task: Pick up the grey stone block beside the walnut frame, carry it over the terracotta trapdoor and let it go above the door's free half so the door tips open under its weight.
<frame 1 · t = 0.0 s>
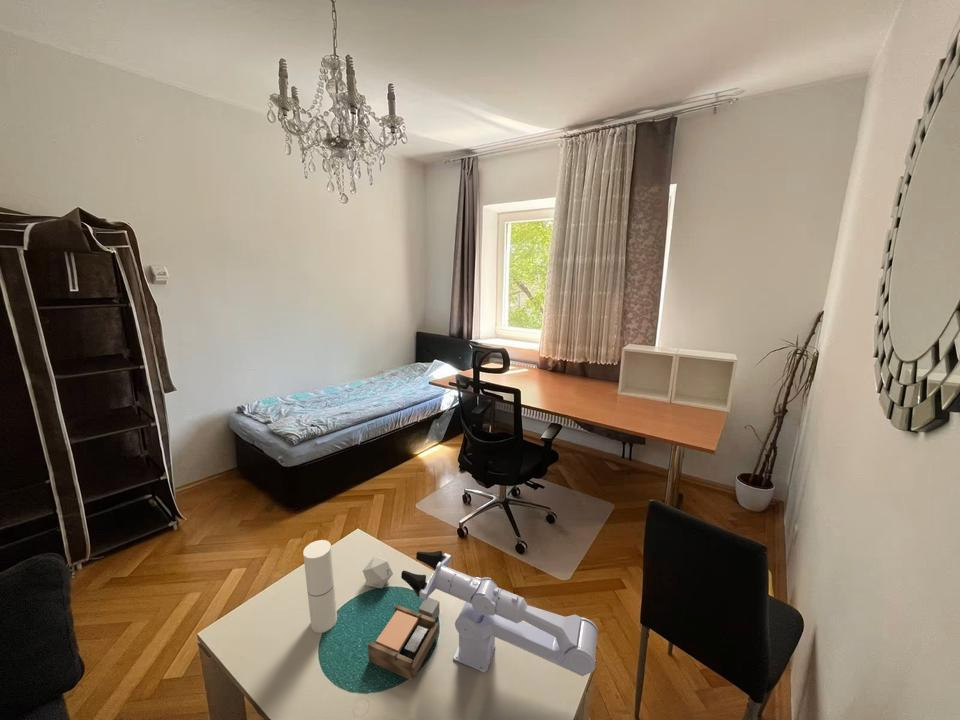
hand: (409, 564, 104), 22 cm above the table, tool horizontal, fingers open, 7 cm apart
die: (378, 582, 125), on the table
cylindrical container: (324, 622, 110), on the table
trapdoor: (403, 635, 102), point 4 cm above the table, hinge at 0.0°
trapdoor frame: (409, 650, 102), on the table
stone: (429, 617, 112), on the table
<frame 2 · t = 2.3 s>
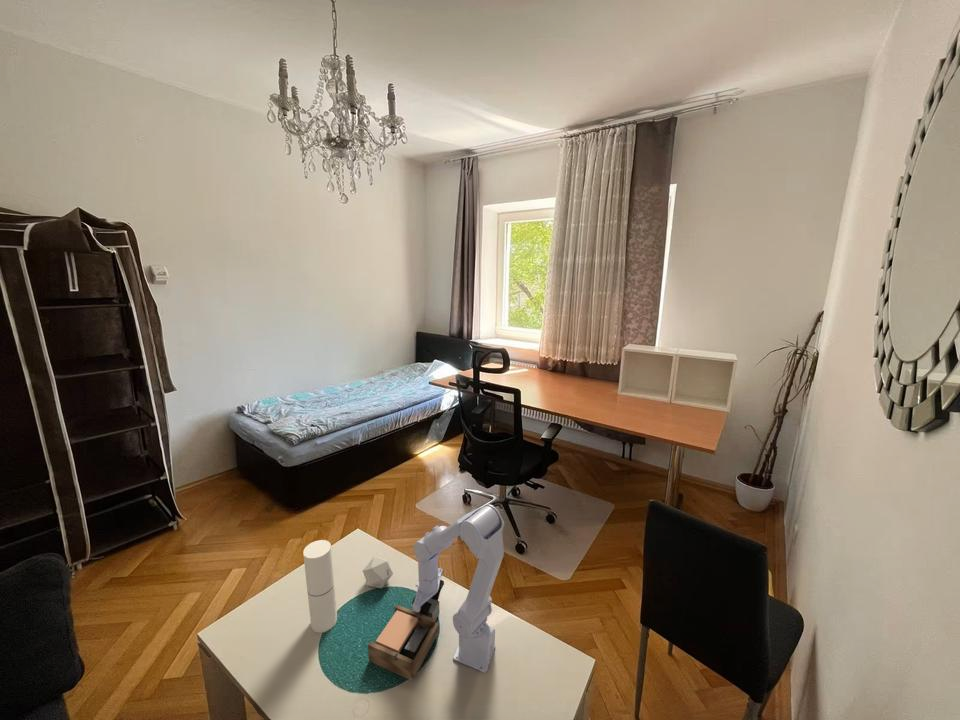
hand: (428, 611, 112), 2 cm above the table, tool pointing down, fingers open, 5 cm apart
nothing on the table moved.
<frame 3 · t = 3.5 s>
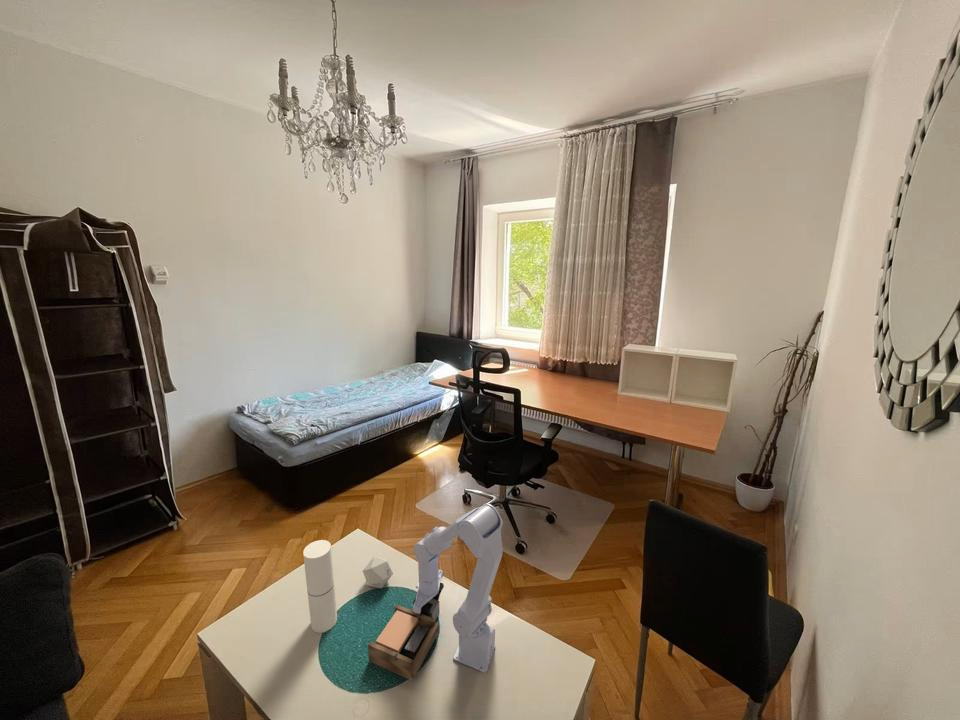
hand: (429, 613, 112), 1 cm above the table, tool pointing down, fingers closed on stone, 4 cm apart
stone: (429, 616, 112), on the table, touching gripper
everything else where it was.
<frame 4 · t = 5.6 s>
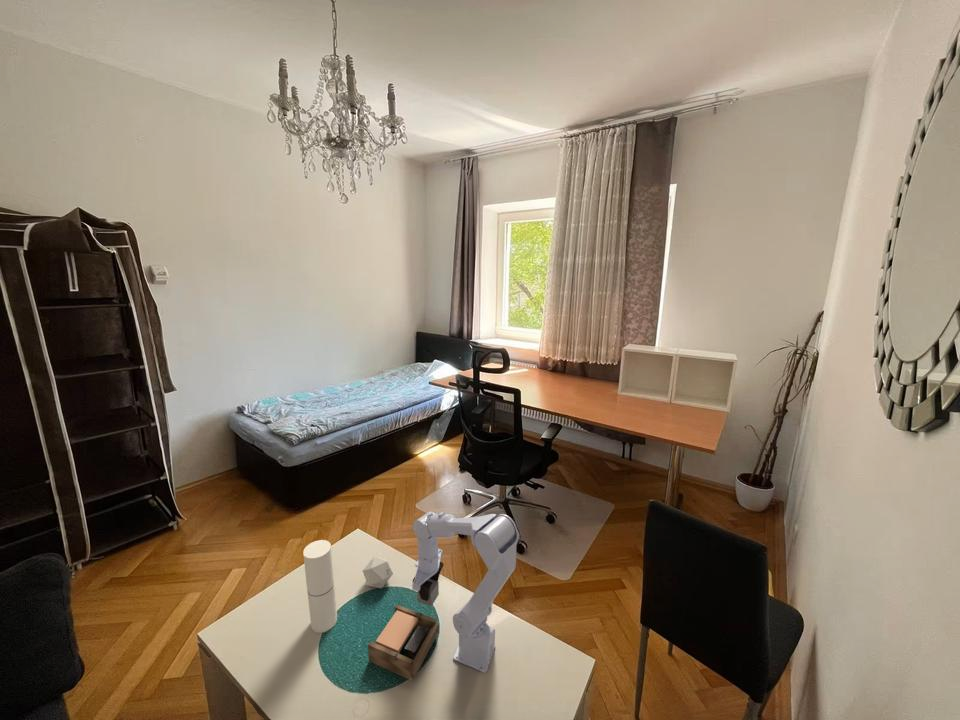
hand: (428, 592, 110), 9 cm above the table, tool pointing down, fingers closed on stone, 4 cm apart
stone: (428, 597, 111), point 7 cm above the table, touching gripper
everything else where it was.
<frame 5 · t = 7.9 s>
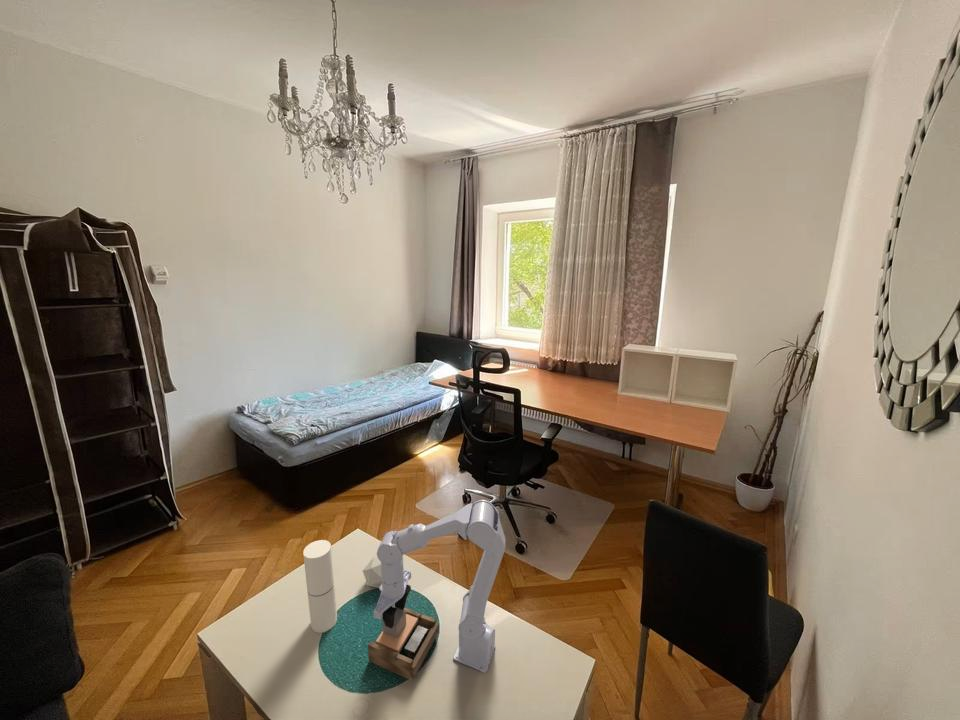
hand: (394, 618, 102), 9 cm above the table, tool pointing down, fingers closed on stone, 4 cm apart
trapdoor: (403, 635, 102), point 4 cm above the table, hinge at -0.4°
stone: (394, 628, 103), point 6 cm above the table, touching gripper
everything else where it was.
when the fingers open (9 cm above the table, at t = 8.1 s): stone stays where it is, resting on trapdoor.
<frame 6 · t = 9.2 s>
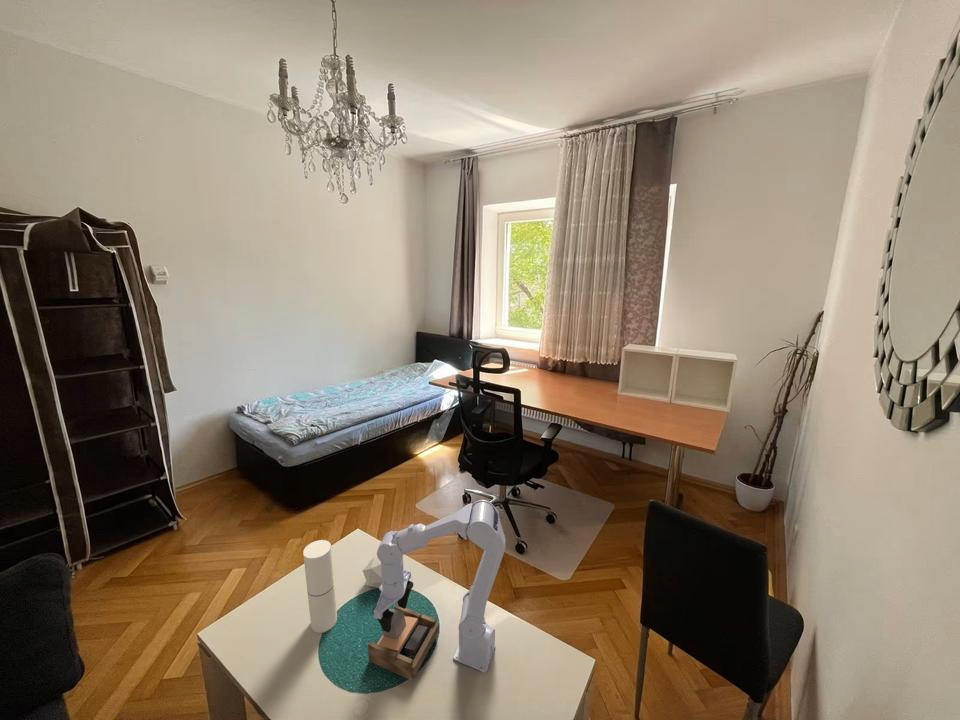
hand: (394, 618, 102), 9 cm above the table, tool pointing down, fingers open, 7 cm apart
trapdoor: (404, 636, 102), point 4 cm above the table, hinge at -10.8°, touching stone
stone: (395, 630, 103), point 5 cm above the table, tilted 11°, touching trapdoor
everything else where it was.
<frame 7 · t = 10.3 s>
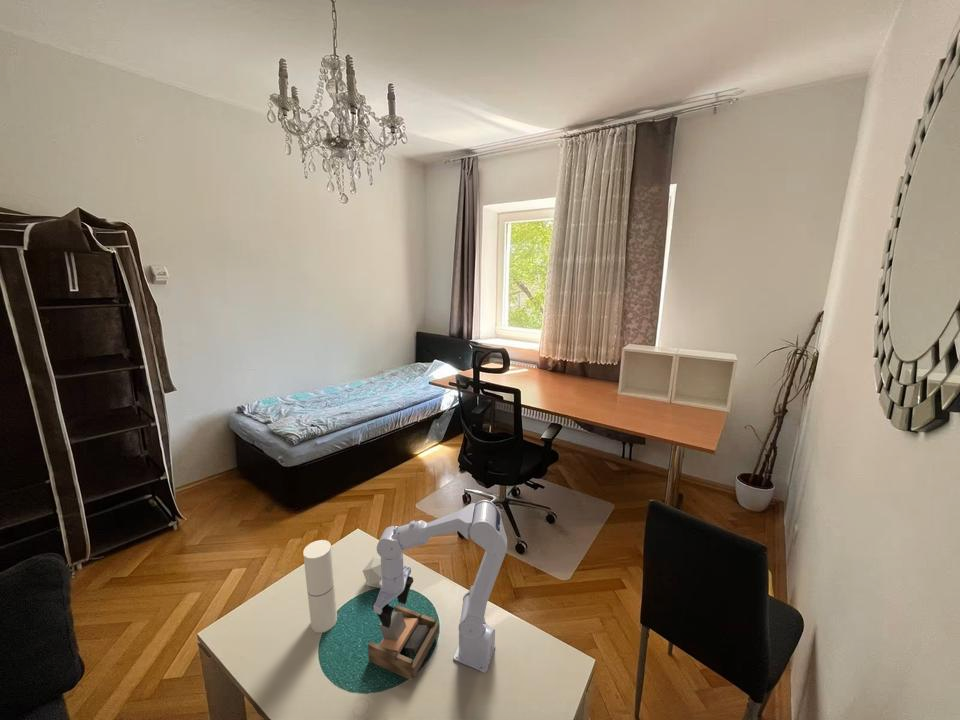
hand: (394, 613, 102), 10 cm above the table, tool pointing down, fingers open, 7 cm apart
trapdoor: (405, 637, 102), point 4 cm above the table, hinge at -18.7°, touching stone
stone: (395, 632, 103), point 4 cm above the table, tilted 19°, touching trapdoor
everything else where it was.
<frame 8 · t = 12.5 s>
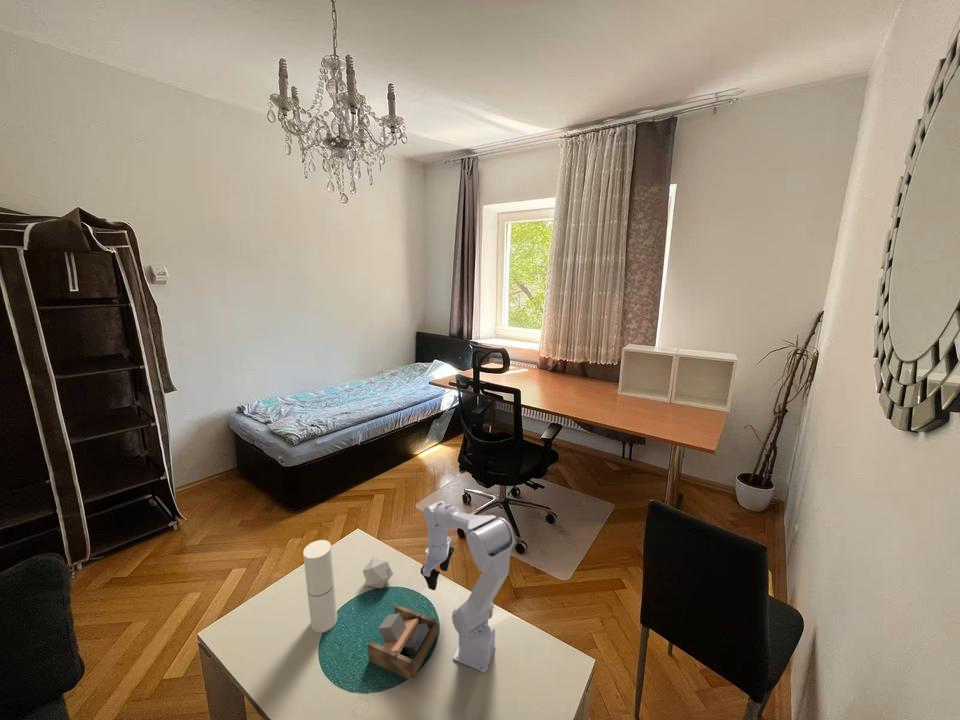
hand: (438, 579, 113), 10 cm above the table, tool pointing down, fingers open, 7 cm apart
trapdoor: (405, 638, 102), point 4 cm above the table, hinge at -28.5°, touching stone
stone: (396, 635, 103), point 3 cm above the table, tilted 29°, touching trapdoor
everything else where it was.
at the end: stone point 3.3 cm above the table; trapdoor at -28° (first picture: +0°); the gripper is holding nothing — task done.
